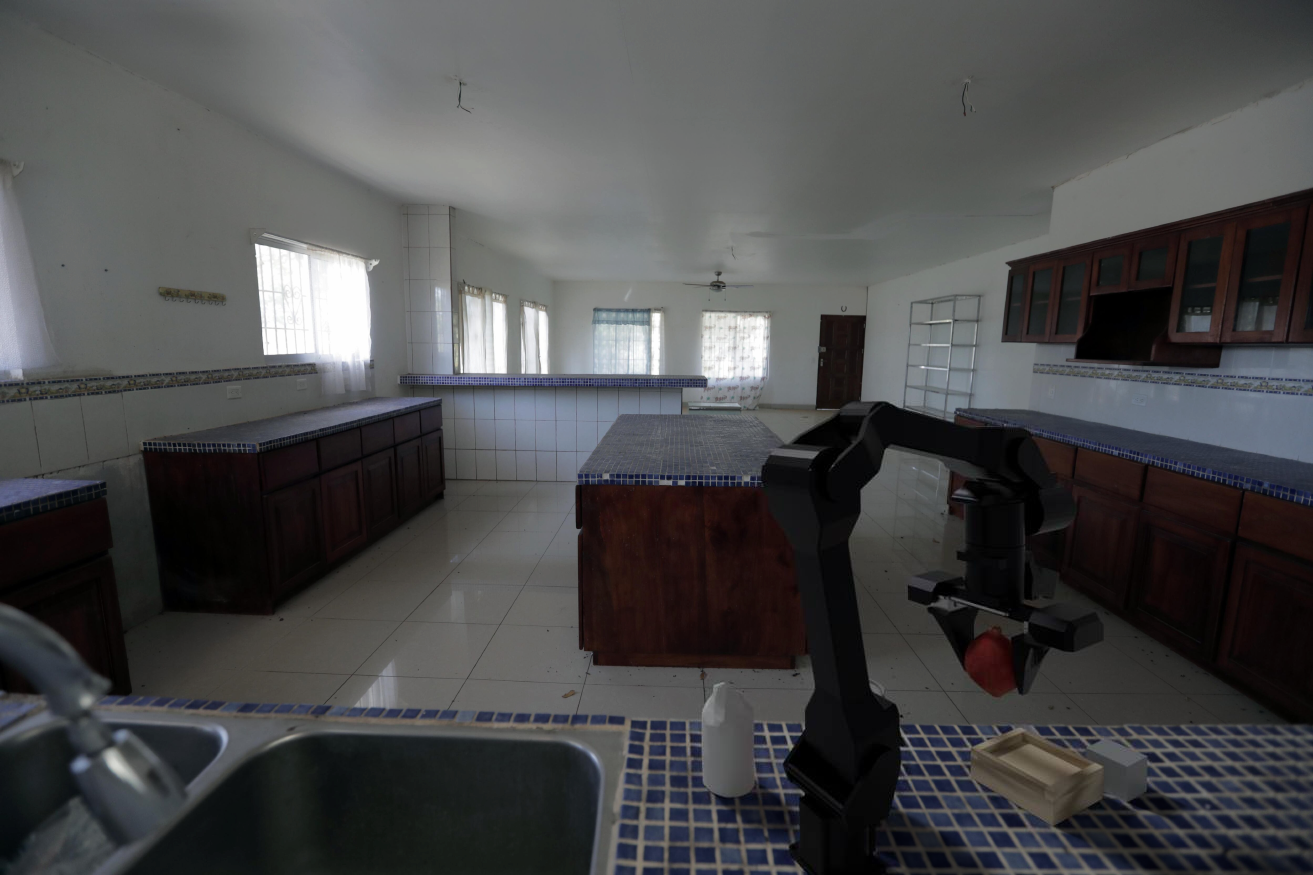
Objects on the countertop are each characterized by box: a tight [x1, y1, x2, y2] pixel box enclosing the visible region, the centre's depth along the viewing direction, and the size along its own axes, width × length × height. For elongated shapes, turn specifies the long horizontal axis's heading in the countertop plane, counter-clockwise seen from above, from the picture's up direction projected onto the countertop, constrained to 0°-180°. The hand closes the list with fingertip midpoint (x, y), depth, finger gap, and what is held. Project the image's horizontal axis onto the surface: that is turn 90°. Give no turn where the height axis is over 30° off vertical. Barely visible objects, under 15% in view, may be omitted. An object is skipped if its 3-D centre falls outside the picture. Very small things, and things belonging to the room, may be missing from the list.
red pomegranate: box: [965, 625, 1017, 698], centre depth 65 cm, size 6×6×8 cm
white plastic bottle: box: [701, 682, 755, 798], centre depth 67 cm, size 6×12×6 cm
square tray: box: [970, 727, 1104, 827], centre depth 66 cm, size 9×9×4 cm
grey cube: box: [1085, 738, 1148, 804], centre depth 66 cm, size 4×4×4 cm
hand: (995, 682), depth 65 cm, fingers closed on red pomegranate, 6 cm apart
